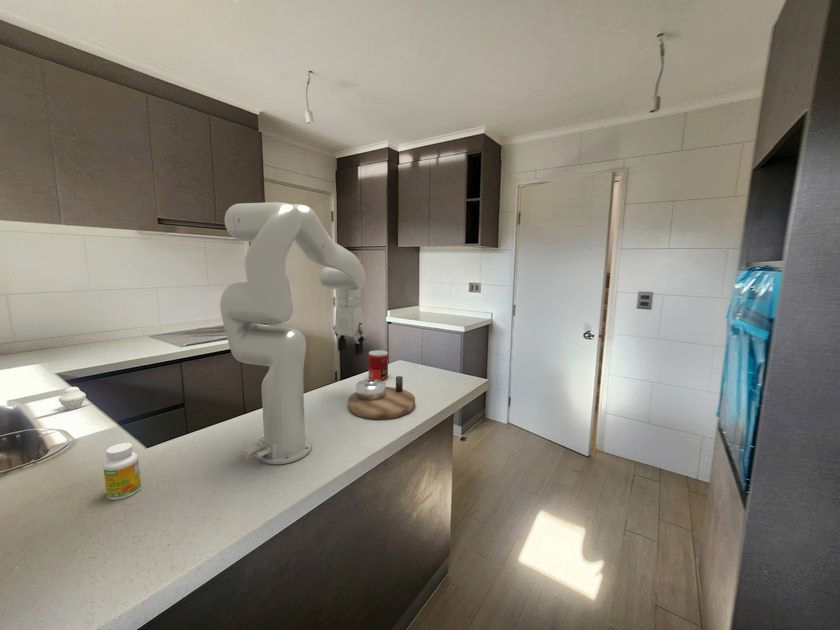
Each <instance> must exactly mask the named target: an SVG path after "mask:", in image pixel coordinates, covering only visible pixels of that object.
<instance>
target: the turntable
mask: <svg viewBox="0 0 840 630" xmlns="http://www.w3.org/2000/svg"><path fill="white" fill-rule="evenodd" d="M403 379H404V378H403V376H401V375H398V376H395V387H393V386H392V387H391V386H386V396H385V397H384V398H382V399H379V400H375V401H365V400H360V399H358V398H357V397H356V392H354V393H353V394H351V395H350V396H349V397H348V400H347V404H348V405H347V406H348V410H349V411H350V412H351V413H353V414H354V415H356V416H358V417H362V418H366V419H375V420H376V419H377V420H380V419H381V420H384V419H393V418H398V417H401V416H404V415H406V414H409V413H410V412H411V411H413V409H414V408H415V406H416V397H415V395H414V394H413V393H412V392H410V391H408V390H406V389H403V383H404V382H403Z"/></svg>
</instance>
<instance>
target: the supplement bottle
mask: <svg viewBox="0 0 840 630" xmlns="http://www.w3.org/2000/svg"><path fill="white" fill-rule="evenodd" d="M133 450H134V448H133V444H132V443H131V442H124V443H118V444H115V445H112V446H110V447H108V448H107V449H106V453H105V454H106V458H107V459H106V460H105V461H104V463H103V466H102V467H103V475H104V483H105V484H104V485H105V491H106V492H105V493H106V498H107V499H108V500H112V501H115V500H116V501H117V500H122V499H125V498H128V497H130V496H133V495H134V494H136V493H137V492H138V491H139V490H140V489H141V487H142V482H141V481H142V480H141V472H140V471H141V470H140V464H139V463H140V462H139V456H138V454H137V453H135V452H134V451H133Z"/></svg>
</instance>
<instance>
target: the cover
mask: <svg viewBox="0 0 840 630" xmlns="http://www.w3.org/2000/svg"><path fill="white" fill-rule="evenodd" d="M386 384H387V382H385V380H384V381H382V380H378V379H369V378H367V379H362V380H359V381H358V382H356V383H355V393H356V397H357V398H358V399H360V400H365V401H375V400H379V399H382V398H384V397H385V396H386V387H387V385H386Z"/></svg>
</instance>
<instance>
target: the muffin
mask: <svg viewBox="0 0 840 630" xmlns="http://www.w3.org/2000/svg"><path fill="white" fill-rule="evenodd" d="M86 397H87V394H86V393H85V392H83V391H82V390H80V388H79V387H77V386H70V387H67V388H65V389H64V391H63V393H62V395H60V396H59V398H58V401H59V403H60V404H61V405H62V407H64V409H66V410H68V411H69V410H70V411H71V410H77V409H79V408H81V407H82V405H83V403H84V401H85V400H86Z"/></svg>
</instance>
